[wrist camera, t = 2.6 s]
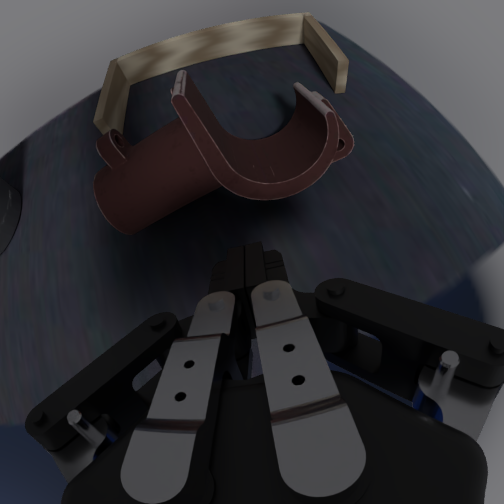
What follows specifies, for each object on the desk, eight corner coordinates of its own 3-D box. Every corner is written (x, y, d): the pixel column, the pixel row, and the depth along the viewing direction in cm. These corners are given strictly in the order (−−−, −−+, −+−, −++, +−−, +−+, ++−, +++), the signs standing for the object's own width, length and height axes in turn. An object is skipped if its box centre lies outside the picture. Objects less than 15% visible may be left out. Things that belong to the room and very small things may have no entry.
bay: (112, 147, 26) (93, 122, 22) (123, 83, 29) (110, 61, 25) (344, 92, 24) (348, 60, 20) (309, 39, 28) (309, 12, 24)
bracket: (371, 168, 18) (330, 26, 11) (156, 268, 22) (60, 179, 14) (336, 129, 22) (293, 19, 15) (159, 215, 26) (87, 135, 18)
